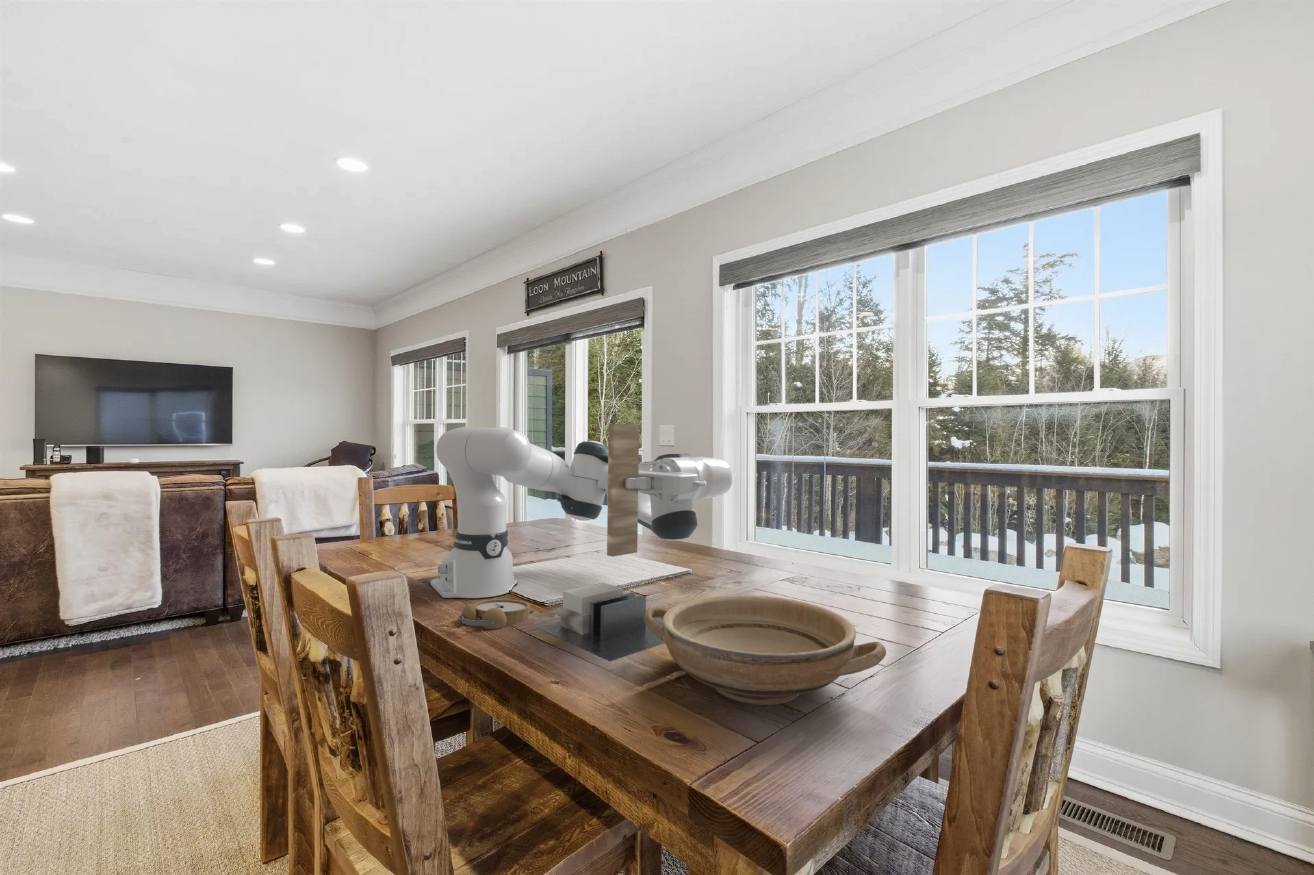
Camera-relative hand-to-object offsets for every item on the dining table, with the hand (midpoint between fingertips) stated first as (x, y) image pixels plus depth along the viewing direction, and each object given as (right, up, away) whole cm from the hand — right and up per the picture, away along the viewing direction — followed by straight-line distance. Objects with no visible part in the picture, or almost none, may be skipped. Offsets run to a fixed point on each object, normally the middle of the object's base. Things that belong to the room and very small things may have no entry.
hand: (619, 482), depth 109 cm
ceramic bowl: (+22, -30, -19) cm, 41 cm away
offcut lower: (-5, -28, +6) cm, 29 cm away
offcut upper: (-5, -24, +6) cm, 25 cm away
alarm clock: (-25, -29, +8) cm, 39 cm away
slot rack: (0, -29, +1) cm, 29 cm away
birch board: (0, -13, +1) cm, 13 cm away
